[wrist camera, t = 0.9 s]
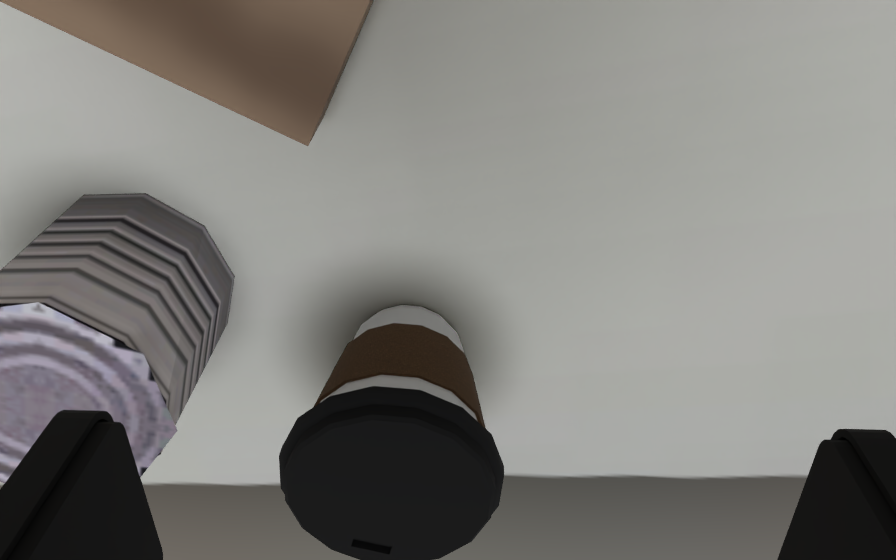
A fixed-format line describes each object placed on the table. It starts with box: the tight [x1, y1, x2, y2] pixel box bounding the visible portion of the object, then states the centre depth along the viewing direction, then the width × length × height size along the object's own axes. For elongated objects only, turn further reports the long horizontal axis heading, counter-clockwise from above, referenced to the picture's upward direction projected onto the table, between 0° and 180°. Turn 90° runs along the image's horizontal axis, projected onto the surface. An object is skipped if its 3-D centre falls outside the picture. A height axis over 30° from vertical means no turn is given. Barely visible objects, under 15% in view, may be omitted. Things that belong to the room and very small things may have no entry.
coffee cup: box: [279, 305, 504, 560], centre depth 39 cm, size 11×11×12 cm
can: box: [0, 193, 235, 483], centre depth 37 cm, size 11×11×12 cm
